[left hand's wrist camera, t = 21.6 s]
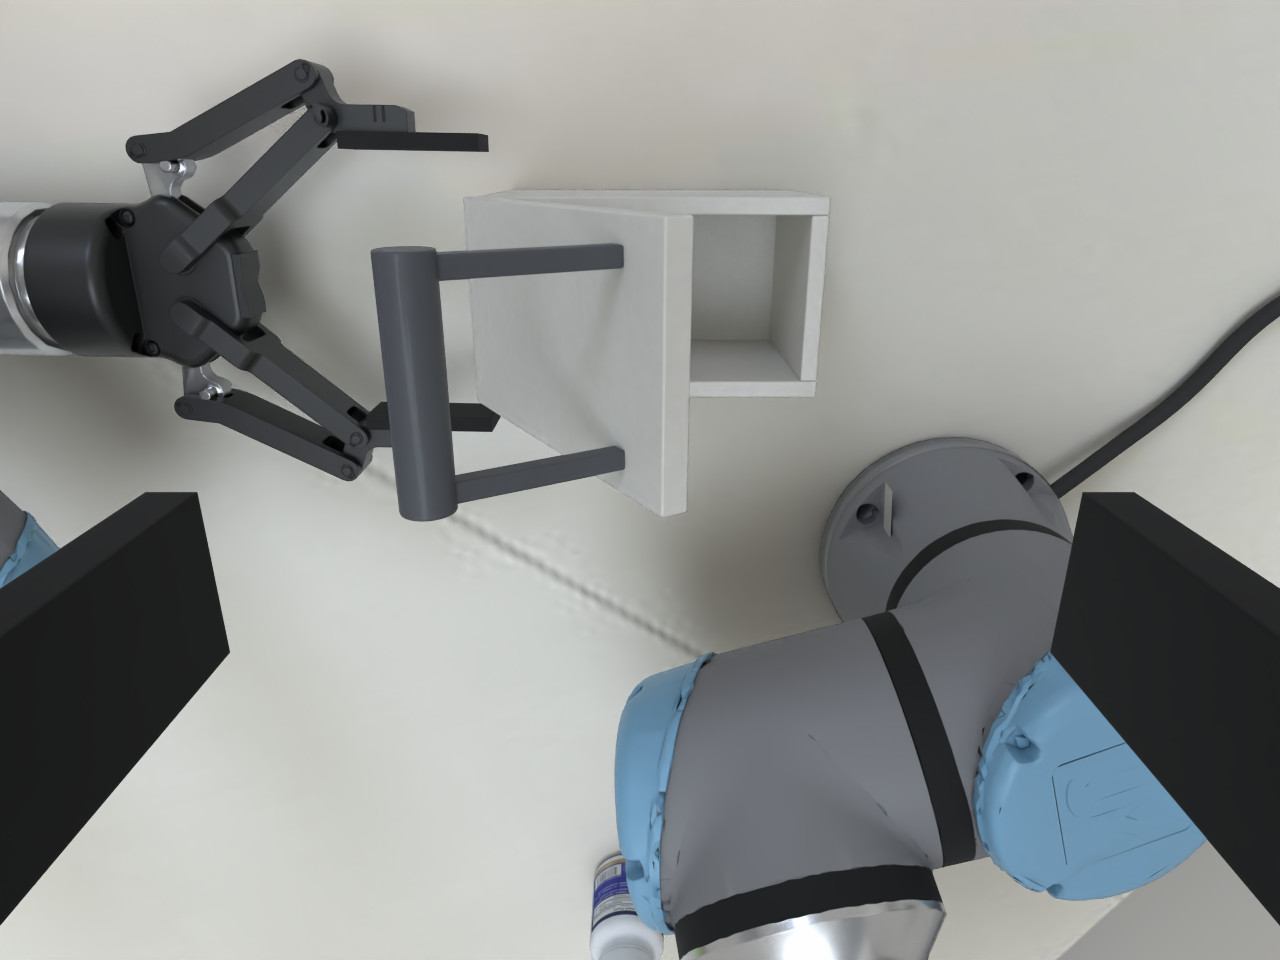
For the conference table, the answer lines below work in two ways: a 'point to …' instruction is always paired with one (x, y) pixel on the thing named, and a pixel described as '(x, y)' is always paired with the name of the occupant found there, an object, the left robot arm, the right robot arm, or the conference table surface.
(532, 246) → the lid
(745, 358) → the chest
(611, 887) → the pill bottle
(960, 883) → the conference table surface
